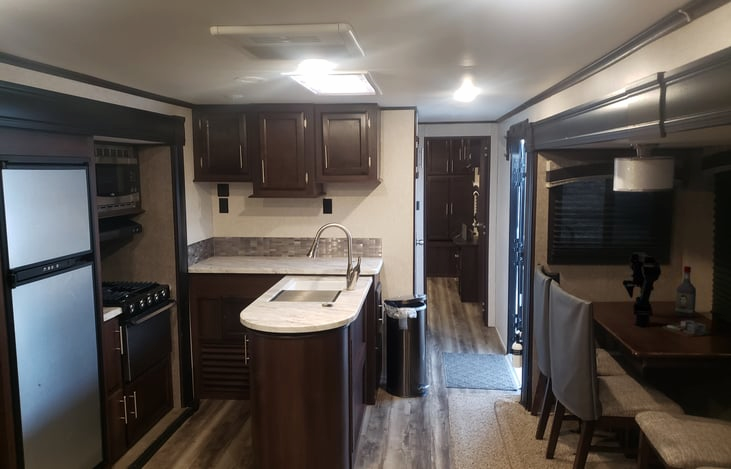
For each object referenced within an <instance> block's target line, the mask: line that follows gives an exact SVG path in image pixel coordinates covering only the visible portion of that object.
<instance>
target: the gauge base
mask: <svg viewBox="0 0 731 469" xmlns="http://www.w3.org/2000/svg"><path fill="white" fill-rule="evenodd" d="M677 326H681V323H680V324H670V325H664V326H662V330H665V331H668V332H671V333H674V334H677V335H679V336H683V337H687V338H690V337H698V336H707V335H709V331H707V330H706V329H707V328H706V327H707V326H706V324H703V323H701V322H694V324H688V325H687V330H684V329H683V328H678V327H677Z"/></svg>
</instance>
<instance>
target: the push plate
mask: <svg viewBox="0 0 731 469" xmlns="http://www.w3.org/2000/svg"><path fill="white" fill-rule="evenodd" d="M694 323H695V321H694V320H692V319H691V320H689V319H688V320H681V321H680V324H681V326H677V327H678V328H683V329H684V330H687V325H688V324H694Z"/></svg>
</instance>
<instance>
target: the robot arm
mask: <svg viewBox="0 0 731 469" xmlns="http://www.w3.org/2000/svg"><path fill="white" fill-rule="evenodd" d="M646 264H651V265H652V266H647V265H646ZM645 265H646V266H645ZM628 269H630V270H631V271H632V274H631V275H630V276H631V277H632V279H624V280H623V281H622V285H623V286H624V288H625V290H626V291H627V294H628V296H629V299H630V298H631V299H632V298H633V296H634V289H635V288H639V289H640V290H639V292H640V295H639V296H636V298H635V301H634V303H633V305H632V308H633V309H632V310H633V315H635V316H636V317H635V318H636V319H635V323H633V325H635V326H637V327H641V328H646V327H647V328H648V327H652V325H651V324H650V319H651V317H652V316H653V308H652V304H651V301H650V297H651V295H652V294H651V293H652V291H655V290H654V289H655V287H654V283H655V282H657V281H658V280H659V278H660V276H661V274H662V271H661V266H660V263H658V262H657V261H656V259H655V256H651V255H648V254H647V253H646V252H640V251H639V252H638V251H637V252H635V251H633V252H632V254H631V256H630V257H629V265H628Z"/></svg>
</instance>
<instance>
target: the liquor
mask: <svg viewBox="0 0 731 469" xmlns="http://www.w3.org/2000/svg"><path fill="white" fill-rule="evenodd" d="M691 272H692V266H687V265H685V266H684V267H683V280H682V283H680V284H679V285H678V286H677V287H676V293H675V294H676V295H675V312H674V313H675V315H676V316H678V317H684V318H693V317H694V316H696V299H697V294H696V293H697V289H696V287H695V286H694V284H692V282H691Z"/></svg>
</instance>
